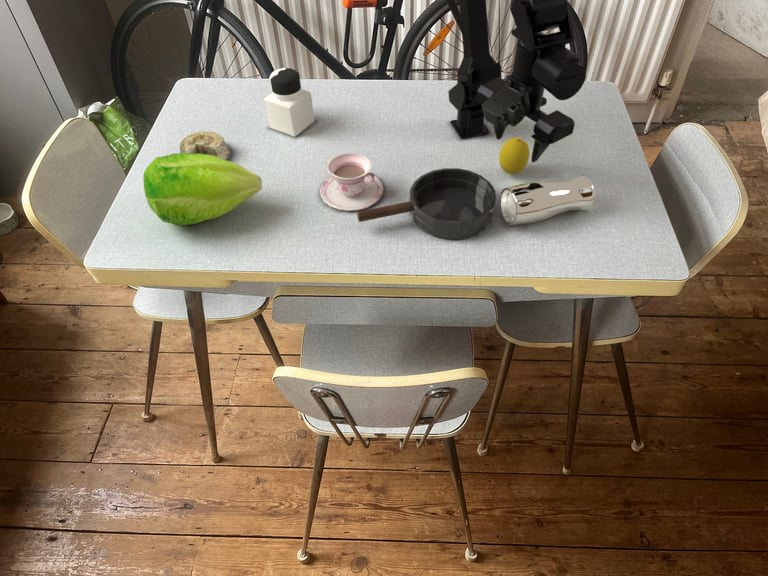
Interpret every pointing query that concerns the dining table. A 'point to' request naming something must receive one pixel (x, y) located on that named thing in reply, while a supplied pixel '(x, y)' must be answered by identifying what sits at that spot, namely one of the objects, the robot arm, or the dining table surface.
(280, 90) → the medicine bottle
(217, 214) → the lettuce
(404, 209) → the pan handle
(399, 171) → the dining table surface
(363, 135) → the dining table surface
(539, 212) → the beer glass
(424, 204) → the pan
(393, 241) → the dining table surface
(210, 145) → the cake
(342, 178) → the teacup
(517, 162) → the lemon
